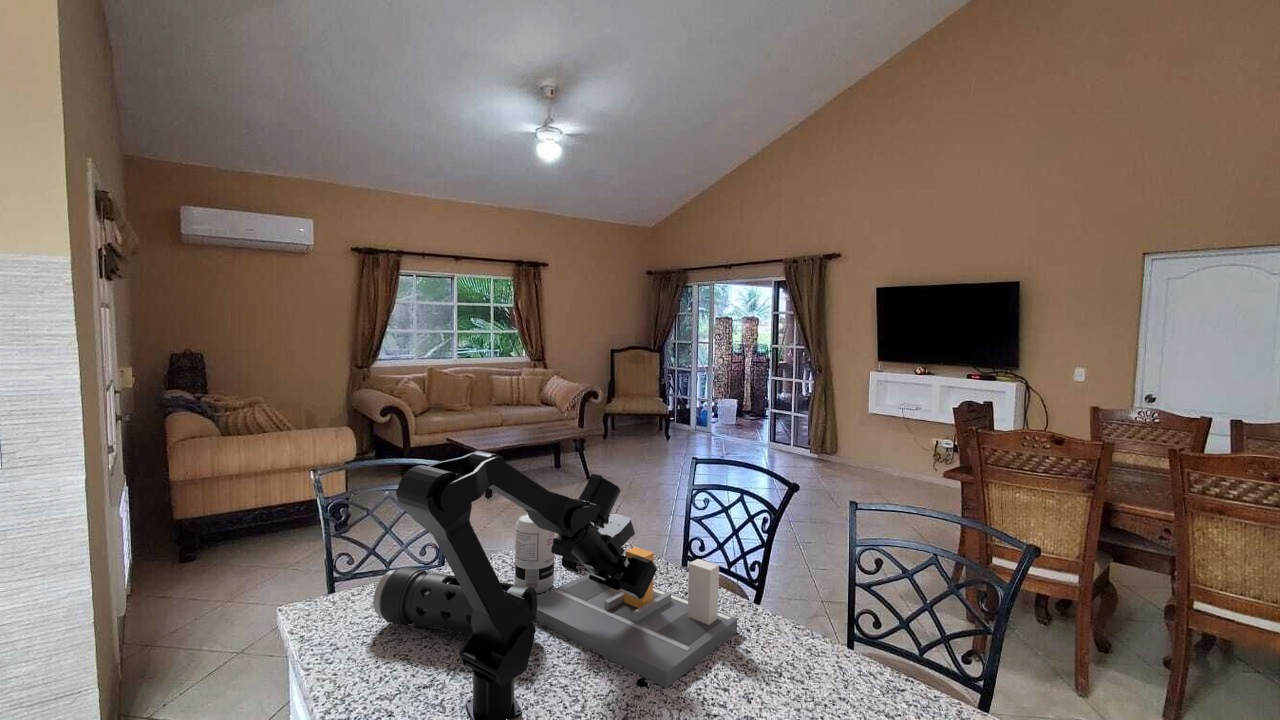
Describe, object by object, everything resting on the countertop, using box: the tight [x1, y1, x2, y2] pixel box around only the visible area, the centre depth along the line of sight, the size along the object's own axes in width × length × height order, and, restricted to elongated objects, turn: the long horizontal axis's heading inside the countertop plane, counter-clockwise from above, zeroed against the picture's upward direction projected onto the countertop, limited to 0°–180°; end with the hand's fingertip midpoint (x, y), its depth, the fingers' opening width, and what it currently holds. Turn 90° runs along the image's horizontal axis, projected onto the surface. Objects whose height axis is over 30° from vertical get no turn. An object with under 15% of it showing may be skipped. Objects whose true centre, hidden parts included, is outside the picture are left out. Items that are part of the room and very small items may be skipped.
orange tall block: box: [624, 546, 655, 608], centre depth 107 cm, size 3×5×10 cm, turn 51°
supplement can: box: [514, 512, 556, 595], centre depth 119 cm, size 8×8×15 cm
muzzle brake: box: [372, 566, 538, 636], centre depth 100 cm, size 10×28×10 cm, turn 76°
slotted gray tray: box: [534, 558, 738, 689], centre depth 105 cm, size 22×34×12 cm, turn 51°
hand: (627, 586), depth 104 cm, fingers closed
